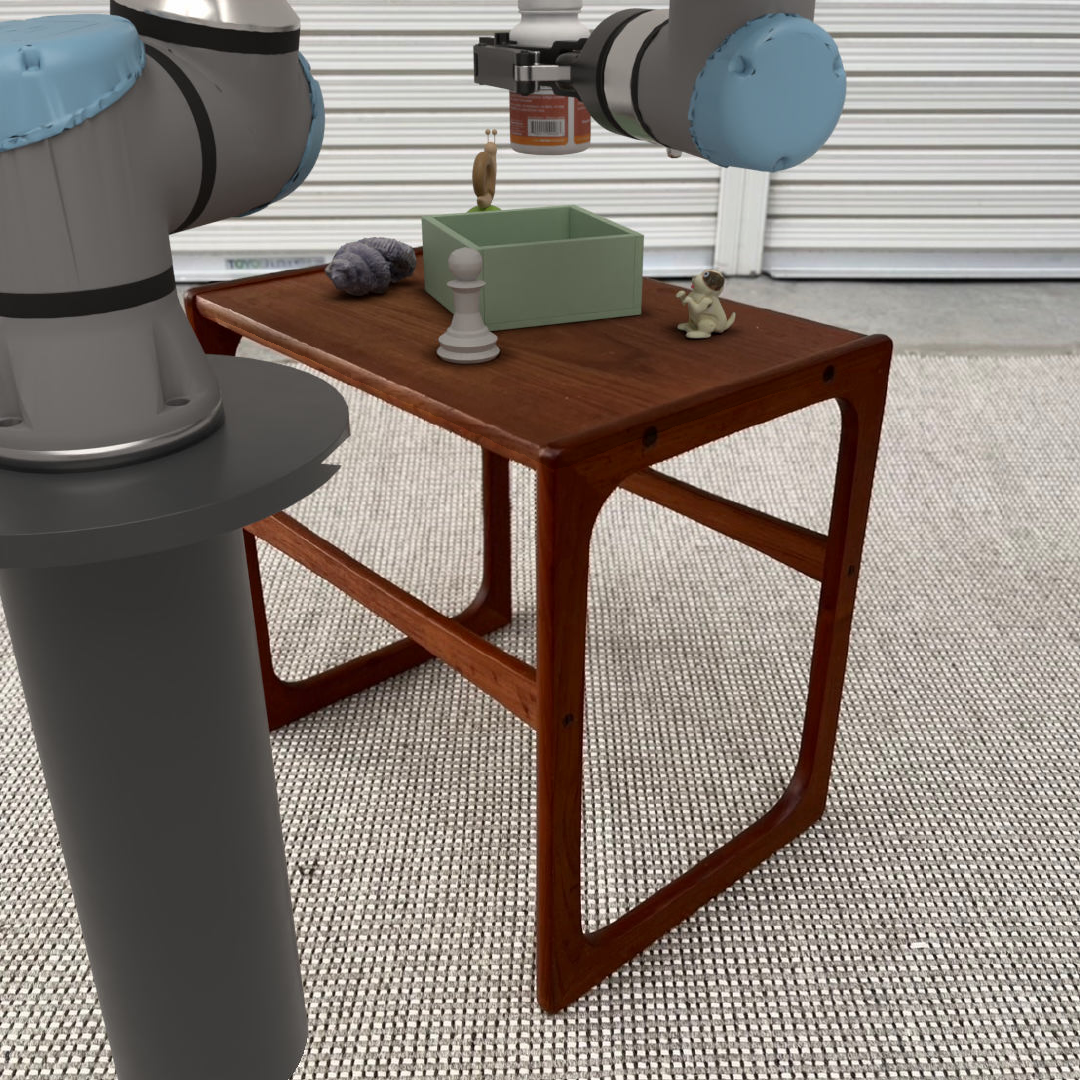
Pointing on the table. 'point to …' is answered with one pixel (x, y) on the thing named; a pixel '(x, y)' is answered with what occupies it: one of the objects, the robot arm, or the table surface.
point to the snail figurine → (485, 176)
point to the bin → (539, 264)
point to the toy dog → (705, 306)
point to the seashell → (371, 265)
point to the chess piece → (467, 313)
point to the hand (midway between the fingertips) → (526, 55)
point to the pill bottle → (543, 115)
